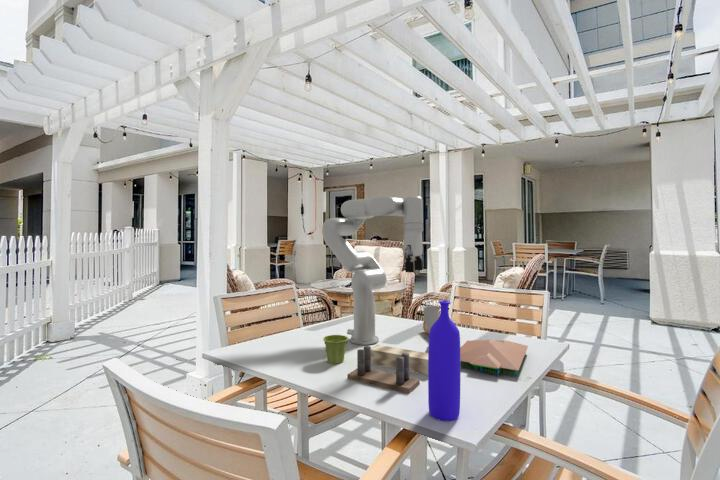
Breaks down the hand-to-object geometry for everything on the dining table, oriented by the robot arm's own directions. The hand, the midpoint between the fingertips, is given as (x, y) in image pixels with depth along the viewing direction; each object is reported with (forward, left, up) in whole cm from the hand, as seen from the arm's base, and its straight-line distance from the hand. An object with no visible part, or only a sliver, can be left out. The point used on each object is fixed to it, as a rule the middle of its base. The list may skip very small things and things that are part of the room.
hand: (414, 271), depth 149 cm
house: (+28, +7, -33) cm, 44 cm away
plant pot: (-21, -23, -33) cm, 46 cm away
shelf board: (+3, -15, -33) cm, 37 cm away
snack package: (0, +27, -33) cm, 43 cm away
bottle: (+27, -42, -33) cm, 60 cm away
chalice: (+6, +5, -33) cm, 34 cm away
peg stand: (+3, -31, -33) cm, 45 cm away
